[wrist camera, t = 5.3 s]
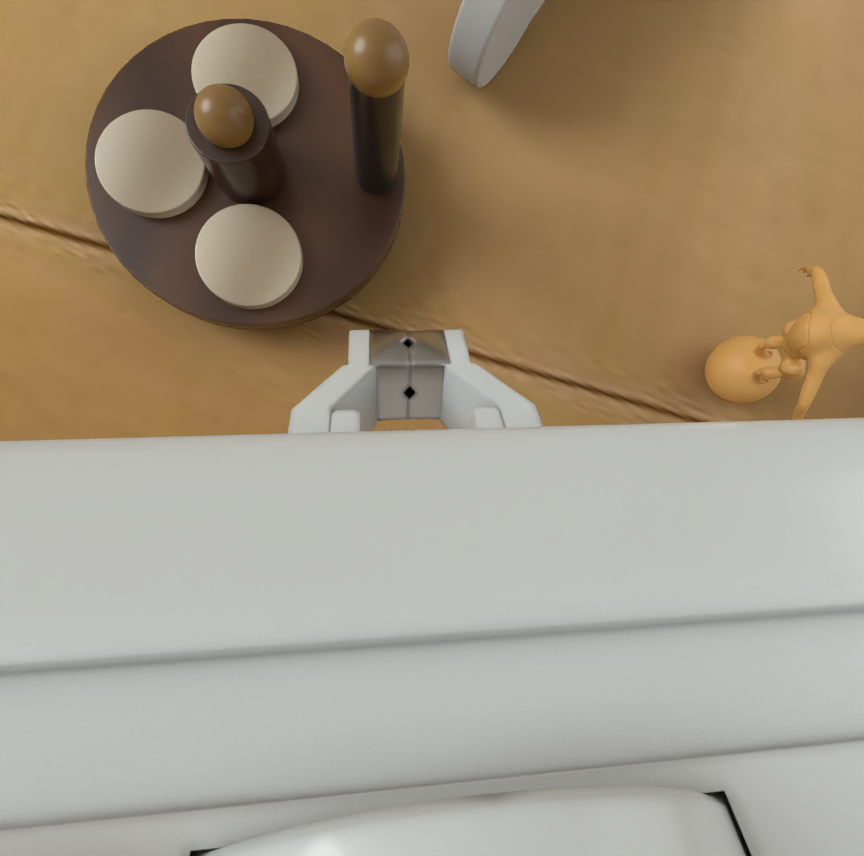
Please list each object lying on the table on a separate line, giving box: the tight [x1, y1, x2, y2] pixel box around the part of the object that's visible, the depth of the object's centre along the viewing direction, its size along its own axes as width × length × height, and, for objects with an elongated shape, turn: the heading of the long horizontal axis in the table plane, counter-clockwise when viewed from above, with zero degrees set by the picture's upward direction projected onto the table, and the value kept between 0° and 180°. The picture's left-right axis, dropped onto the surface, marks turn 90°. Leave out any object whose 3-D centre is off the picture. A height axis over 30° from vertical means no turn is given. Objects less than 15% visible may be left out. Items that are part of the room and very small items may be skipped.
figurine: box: [705, 265, 864, 420], centre depth 26 cm, size 8×6×12 cm
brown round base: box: [85, 18, 409, 330], centre depth 22 cm, size 16×16×11 cm
